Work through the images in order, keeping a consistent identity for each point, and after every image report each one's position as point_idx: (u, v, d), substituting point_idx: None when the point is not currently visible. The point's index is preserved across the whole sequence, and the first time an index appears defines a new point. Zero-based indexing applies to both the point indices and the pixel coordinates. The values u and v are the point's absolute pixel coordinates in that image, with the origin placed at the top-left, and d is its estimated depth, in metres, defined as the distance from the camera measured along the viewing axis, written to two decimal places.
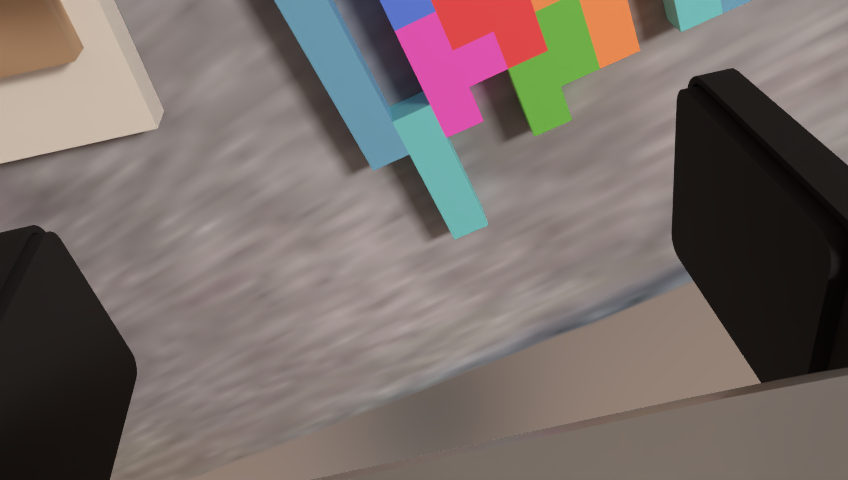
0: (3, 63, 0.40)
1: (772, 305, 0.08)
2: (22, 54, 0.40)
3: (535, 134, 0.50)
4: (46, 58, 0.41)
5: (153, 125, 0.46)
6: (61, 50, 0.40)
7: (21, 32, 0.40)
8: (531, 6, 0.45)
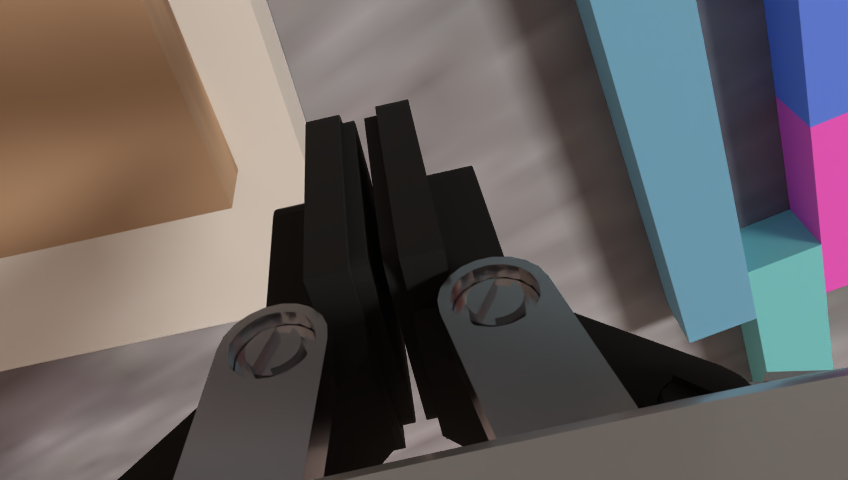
0: (89, 215, 0.20)
1: None
2: (128, 198, 0.20)
3: None
4: (175, 204, 0.20)
5: None
6: (207, 189, 0.20)
7: (131, 157, 0.19)
8: None
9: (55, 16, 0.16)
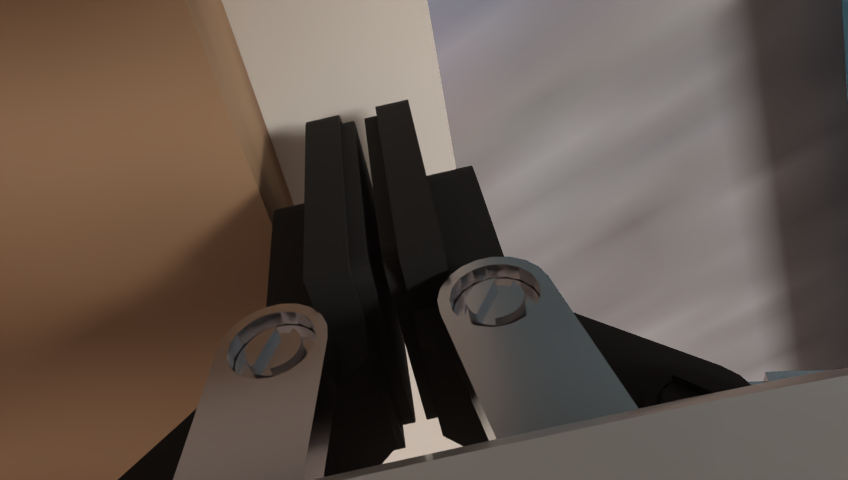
0: None
1: None
2: None
3: None
4: None
5: None
6: None
7: None
8: None
9: (119, 211, 0.10)
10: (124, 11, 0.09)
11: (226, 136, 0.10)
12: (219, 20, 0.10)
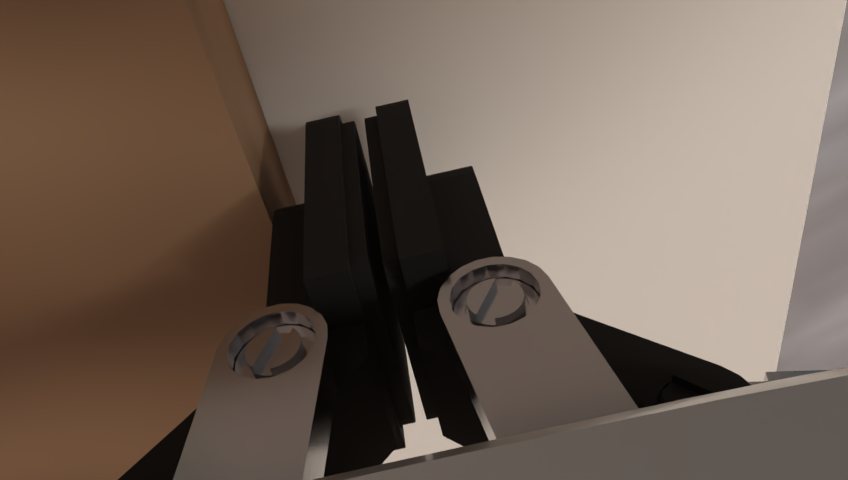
0: None
1: None
2: None
3: None
4: None
5: None
6: None
7: None
8: None
9: (118, 209, 0.10)
10: (121, 7, 0.09)
11: (225, 134, 0.10)
12: (219, 17, 0.10)
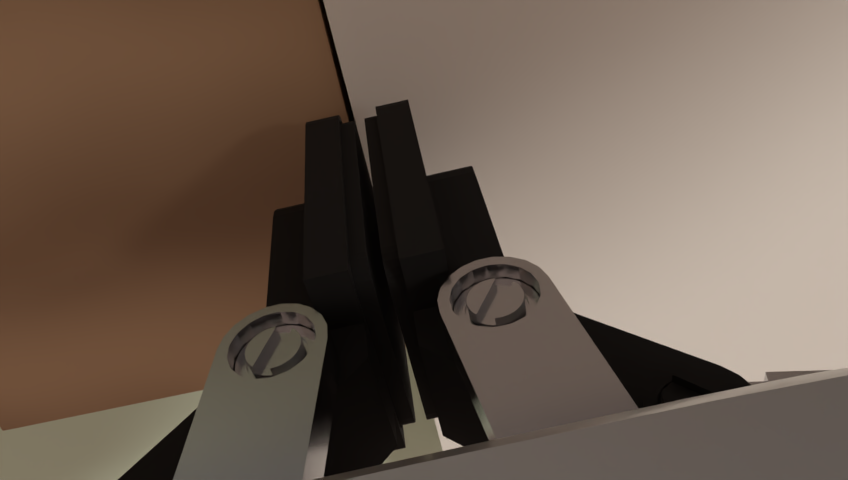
0: None
1: None
2: None
3: None
4: None
5: None
6: None
7: None
8: None
9: (226, 122, 0.12)
10: None
11: (323, 57, 0.12)
12: None
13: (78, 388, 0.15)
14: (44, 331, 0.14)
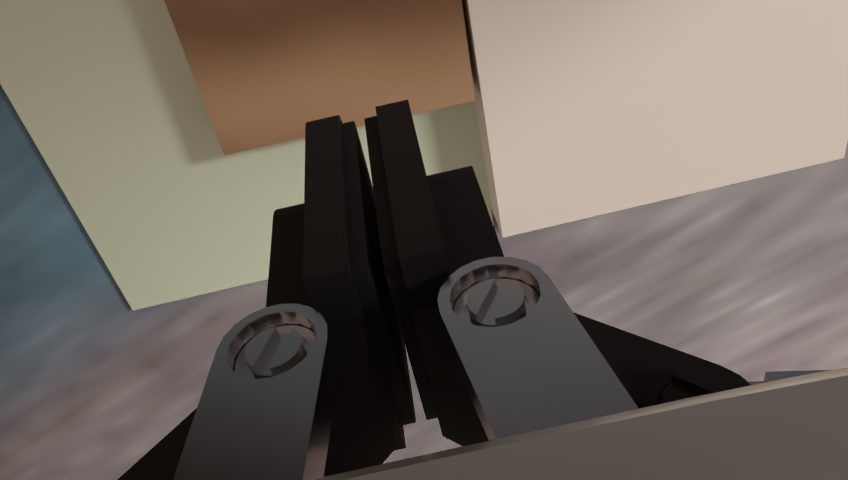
0: (365, 104, 0.25)
1: None
2: (399, 89, 0.25)
3: None
4: (433, 96, 0.25)
5: (841, 153, 0.28)
6: (460, 83, 0.25)
7: (410, 53, 0.24)
8: None
9: None
10: None
11: None
12: None
13: (274, 123, 0.25)
14: (262, 76, 0.24)
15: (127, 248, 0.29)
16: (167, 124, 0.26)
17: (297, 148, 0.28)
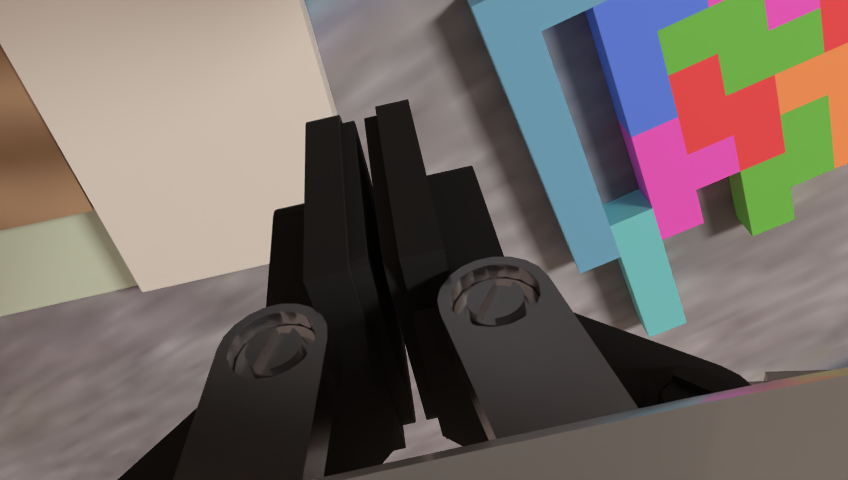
0: (19, 213, 0.39)
1: None
2: (39, 205, 0.39)
3: (754, 234, 0.47)
4: (64, 208, 0.39)
5: None
6: (79, 201, 0.39)
7: (39, 185, 0.38)
8: (778, 109, 0.41)
9: (0, 121, 0.36)
10: None
11: (28, 99, 0.35)
12: None
13: None
14: None
15: None
16: None
17: None
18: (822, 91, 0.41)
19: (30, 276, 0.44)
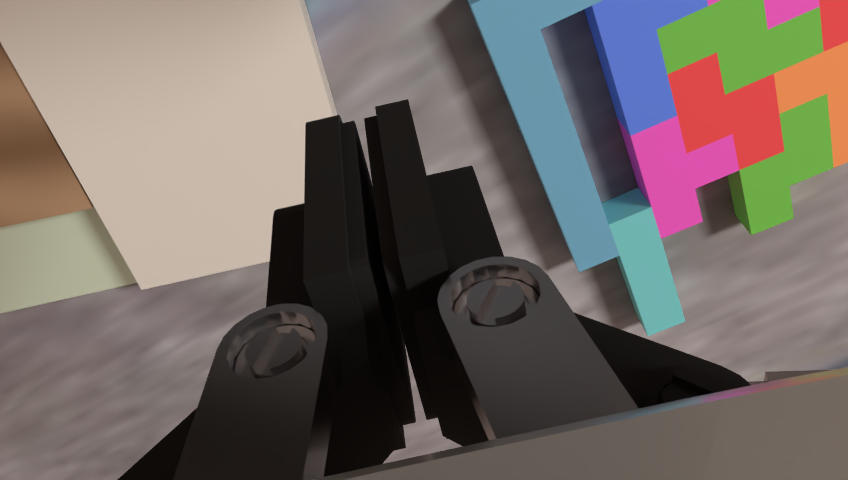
0: (18, 211, 0.39)
1: None
2: (38, 202, 0.39)
3: (753, 233, 0.47)
4: (63, 206, 0.39)
5: None
6: (79, 198, 0.39)
7: (38, 182, 0.38)
8: (777, 108, 0.41)
9: None
10: None
11: (28, 96, 0.35)
12: None
13: None
14: None
15: None
16: None
17: None
18: (821, 90, 0.41)
19: (30, 273, 0.44)
